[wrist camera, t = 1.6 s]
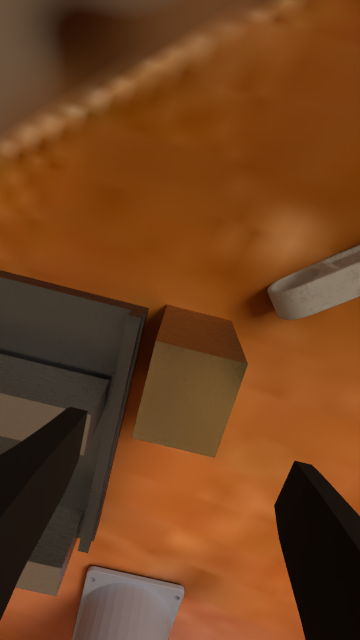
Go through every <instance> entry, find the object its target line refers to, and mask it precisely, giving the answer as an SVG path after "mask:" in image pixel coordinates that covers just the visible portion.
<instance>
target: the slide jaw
mask: <svg viewBox="0 0 360 640" xmlns="http://www.w3.org/2000/svg"><path fill="white" fill-rule="evenodd" d="M108 385H109V380H105V379H101V378H97V377H93V376H89V375H85V374H81V373H77V372H73V371H69V370H65V369H61V368H56V367H52V366H48V365H44V364H40V363H36V362H32V361H28V360H24V359H20V358H16V357H12V356H8V355H3V354H0V436H3V437H7V438H11V439H16V440H20V441H23V440H24V439H26V438H27V437H28V436H30V435H31V434H33V433H34V432H36V431H37V430H39V429H40V428H41V427H43V426H44V425H45V424H47V423H48V422H50V421H51V420H52V419H54V418H55V417H56V416H57V415H59V414H60V413H61V412H63V411H64V410H65V409H67V408H69V407H74V408H78V409H82V410H86V411H88V413H87V419H86V424H85V429H84V435H83V440H82V445H81V450H80V455H84V453H85V451H86V449H87V447H88V445H89V443H90V441H91V438H92V436H93V434H94V432H95V430H96V428H97V426H98V423H99V421H100V419H101V417H102V414H103V409H104V405H105V400H106V395H107V390H108Z"/></svg>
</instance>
